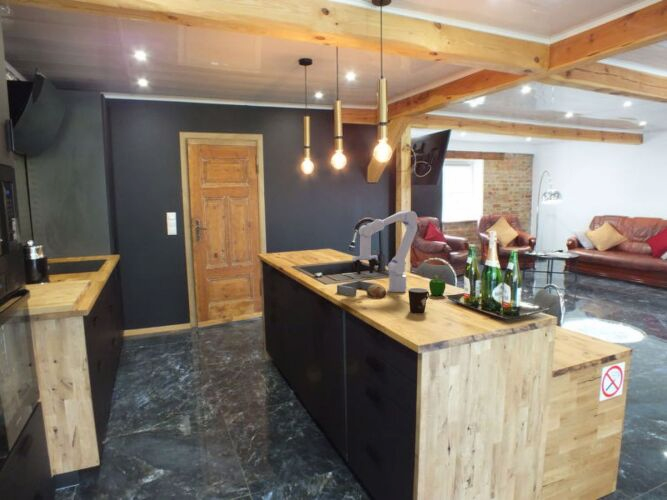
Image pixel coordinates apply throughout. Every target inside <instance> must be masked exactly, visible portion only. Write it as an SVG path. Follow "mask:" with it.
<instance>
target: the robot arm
mask: <svg viewBox="0 0 667 500" xmlns="http://www.w3.org/2000/svg"><path fill="white" fill-rule="evenodd" d="M418 219H419V217H418V215H417V213H416V211H413V210H407V209H406V210H401V211H398V212H395V213H394V214H392V215H390V216H388V217H386V218H384V219H379V218H376V219H374V221H372V222H369V223H366V225H361V226H360V227H359V230H358V234H359V235H360V238H359V255H358V256H352V262H353V265H354V266H355V270H356V274H357V275H361V271H362V264H363V262H362V261H368V265H369V266H368V268H369V269H368V271H369V273H370V274H373V273H374V269H375V266H376V264H377V263H378V257H379V256H378V255H376V254H375V255H374V254H373V255H372V253H371V251H372V249H371V246H372V238H371V237H372V235H373V234H376V233H377V232H380V231H382V230H384V229H385V228H386V227H385V226H388V225H390V224H393V223H396V222H398V221H400V222H401V223H402V224H404V226H405V228H406V229H405V231H404V232H405V233H404V235H403V237H402V239H401V242H400V245H399V246H398V249H397V251H396V254H395V256H393V257H392V259H391V260H390V262H388V264H387V269H388V271H389V273H388V275H389V276H388V288H387V292H393V293H394V292H395V293H406V291H407V286H408V285H407V274H404V273H405V270H406V264H407V263H406V258H407V255H408V252H409V250H410V249H411V245H412V243H413V242H414V239H415V236H416V235H417V234H416V233H417V231H418V221H419V220H418Z"/></svg>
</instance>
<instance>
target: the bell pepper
mask: <svg viewBox="0 0 667 500" xmlns="http://www.w3.org/2000/svg"><path fill="white" fill-rule="evenodd" d="M434 277H435V278H436V279H433V278H432V279H430V280H429V284H428V285H429V287H428V288H429V291H430V294H431V296H434V295H435V297H436V296H437V297H439V295H440V296H443V295H444V294H445V291H446V282H445V280H444V279H440V280H439V277H438V275H434Z"/></svg>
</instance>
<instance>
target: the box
mask: <svg viewBox="0 0 667 500" xmlns="http://www.w3.org/2000/svg"><path fill="white" fill-rule="evenodd" d="M374 284H377V282H376V283H375V282H370V281H365V280H354V281H350V282H346V283H340V284H336V293H337V294H341V295H346V296H351V297H357V289H362V290H367V289H368V287H369V286H371V285H374Z"/></svg>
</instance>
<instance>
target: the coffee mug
mask: <svg viewBox="0 0 667 500" xmlns="http://www.w3.org/2000/svg"><path fill="white" fill-rule="evenodd" d="M407 291H408V302H409V303H408V304H409V312H410V313H411V314H415V313H423V314H425V313H426V312H425V311H426V306H427V300H428V299H429V296H430V293H429V290H428V289H427V288H423V287H422V288H421V287H410V288H408V289H407Z"/></svg>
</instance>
